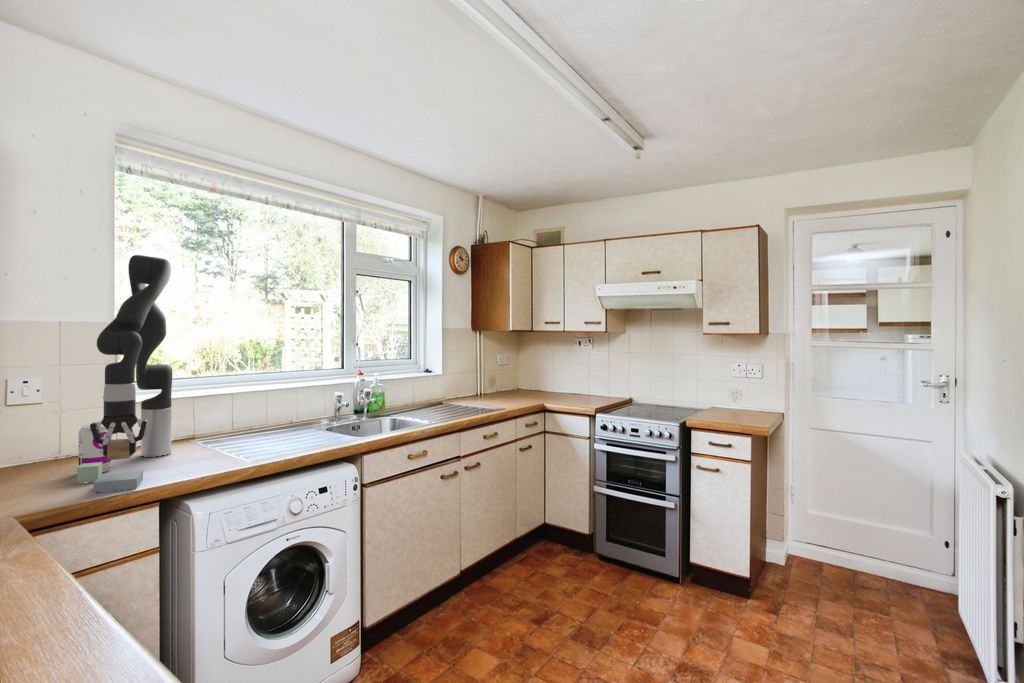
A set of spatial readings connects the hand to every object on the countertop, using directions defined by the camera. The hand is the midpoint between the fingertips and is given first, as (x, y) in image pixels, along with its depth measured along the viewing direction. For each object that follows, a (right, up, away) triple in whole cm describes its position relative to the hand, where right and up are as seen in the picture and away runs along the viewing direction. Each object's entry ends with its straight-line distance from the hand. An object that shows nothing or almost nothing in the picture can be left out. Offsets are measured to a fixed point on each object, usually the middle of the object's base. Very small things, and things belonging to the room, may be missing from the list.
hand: (119, 455), depth 152 cm
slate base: (0, -9, 0) cm, 9 cm away
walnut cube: (0, 0, 0) cm, 0 cm away
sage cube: (-13, -9, +5) cm, 16 cm away
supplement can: (-19, -9, +14) cm, 25 cm away
